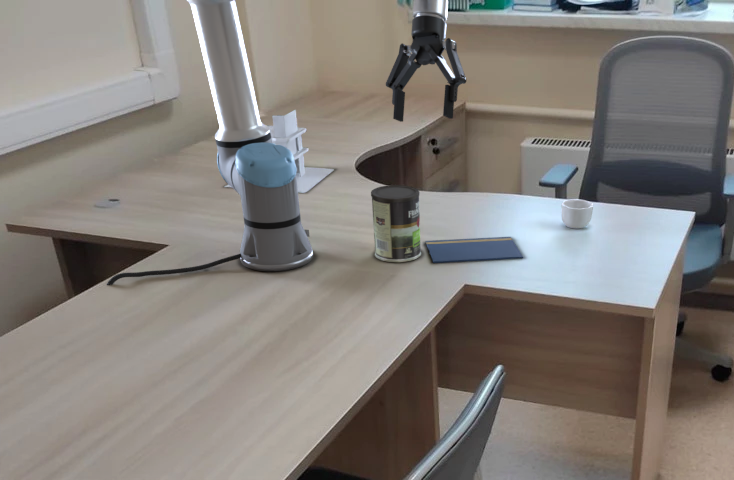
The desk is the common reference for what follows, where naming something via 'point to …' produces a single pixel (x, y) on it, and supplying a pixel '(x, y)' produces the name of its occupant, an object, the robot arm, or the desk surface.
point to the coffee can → (396, 223)
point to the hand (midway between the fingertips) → (422, 118)
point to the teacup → (576, 213)
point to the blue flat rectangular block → (473, 249)
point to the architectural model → (295, 150)
